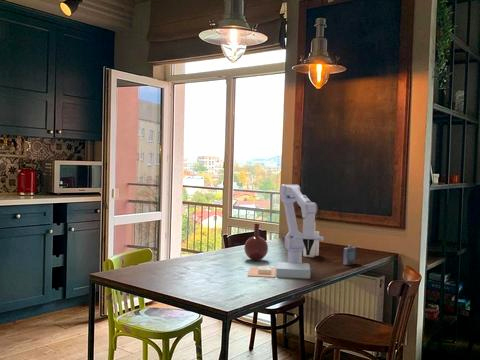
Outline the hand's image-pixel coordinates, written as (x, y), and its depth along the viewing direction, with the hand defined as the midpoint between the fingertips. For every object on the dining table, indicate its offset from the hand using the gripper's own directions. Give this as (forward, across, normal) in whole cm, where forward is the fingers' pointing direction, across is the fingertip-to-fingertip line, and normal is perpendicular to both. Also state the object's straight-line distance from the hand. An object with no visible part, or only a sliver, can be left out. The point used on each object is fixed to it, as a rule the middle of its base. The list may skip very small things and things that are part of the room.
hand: (307, 254), depth 235 cm
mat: (+9, -22, -2) cm, 24 cm away
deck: (+9, -7, -2) cm, 12 cm away
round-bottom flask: (+10, -27, +28) cm, 40 cm away
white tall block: (+10, +4, +49) cm, 50 cm away
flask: (+10, +24, +29) cm, 39 cm away
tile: (+7, -21, -2) cm, 22 cm away
